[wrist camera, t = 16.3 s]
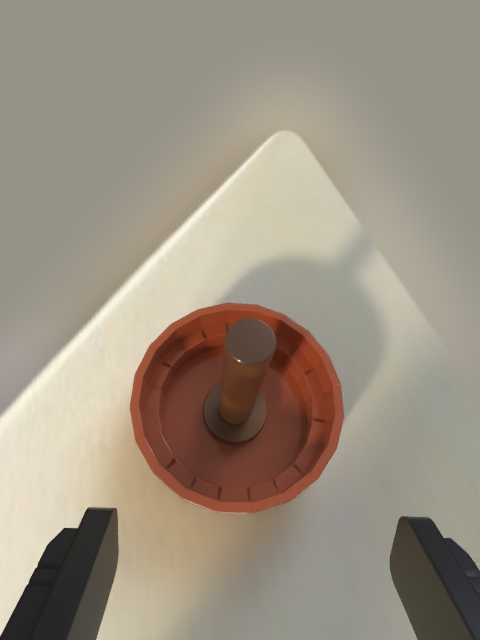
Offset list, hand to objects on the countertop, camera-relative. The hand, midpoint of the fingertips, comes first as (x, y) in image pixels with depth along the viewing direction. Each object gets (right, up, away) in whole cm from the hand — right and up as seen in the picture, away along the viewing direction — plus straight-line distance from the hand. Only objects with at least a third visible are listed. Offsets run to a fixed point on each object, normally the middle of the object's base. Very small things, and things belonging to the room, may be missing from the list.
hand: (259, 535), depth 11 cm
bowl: (-1, -1, +20) cm, 20 cm away
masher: (-1, -1, +19) cm, 19 cm away
